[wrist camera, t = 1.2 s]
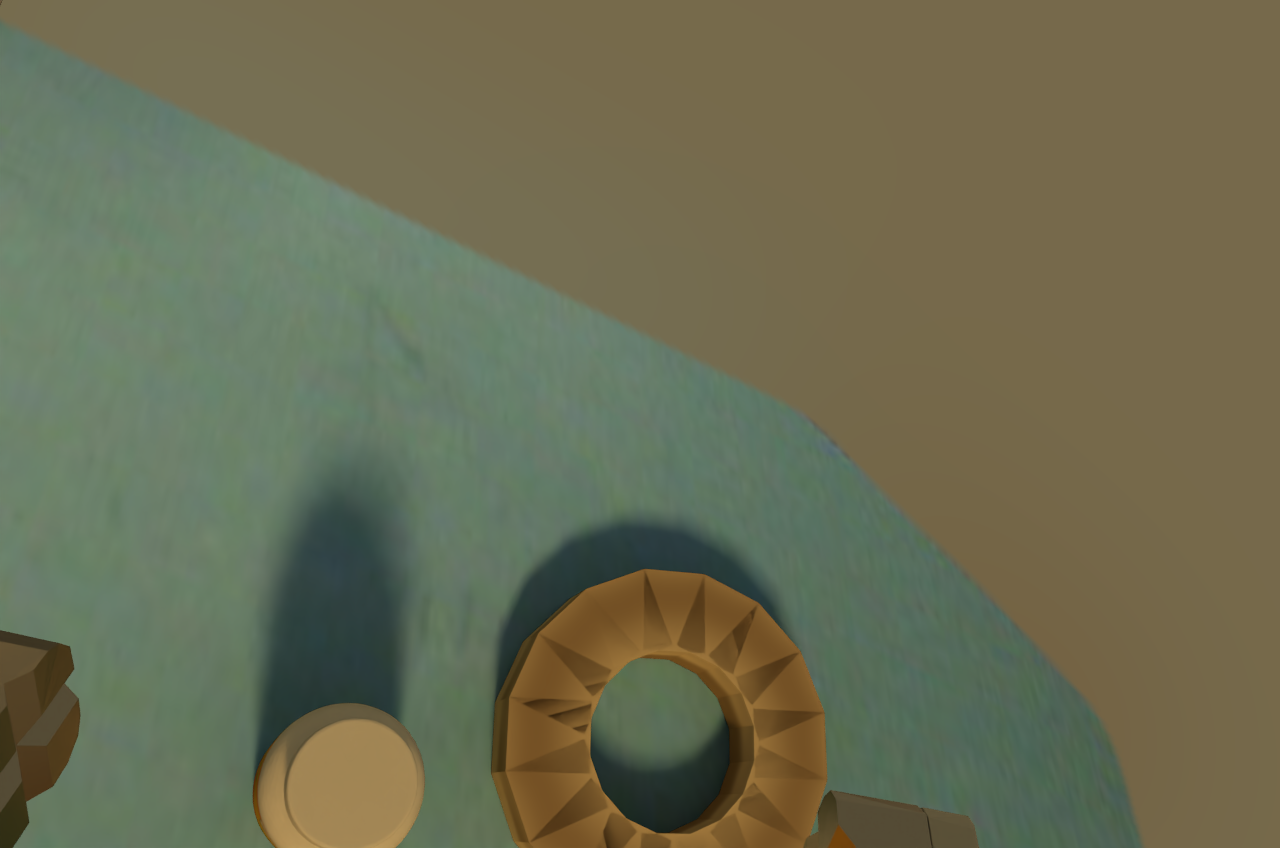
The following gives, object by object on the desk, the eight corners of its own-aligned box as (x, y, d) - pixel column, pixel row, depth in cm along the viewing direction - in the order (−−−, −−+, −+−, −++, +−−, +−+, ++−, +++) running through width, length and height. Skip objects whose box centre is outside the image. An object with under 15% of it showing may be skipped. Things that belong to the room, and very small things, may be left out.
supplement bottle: (325, 687, 44) (352, 657, 35) (425, 780, 44) (476, 772, 35) (219, 797, 41) (221, 794, 33) (325, 895, 42) (355, 917, 33)
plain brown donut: (422, 734, 44) (432, 730, 42) (654, 519, 51) (675, 506, 49) (650, 1000, 44) (673, 1010, 42) (855, 750, 51) (884, 747, 49)
